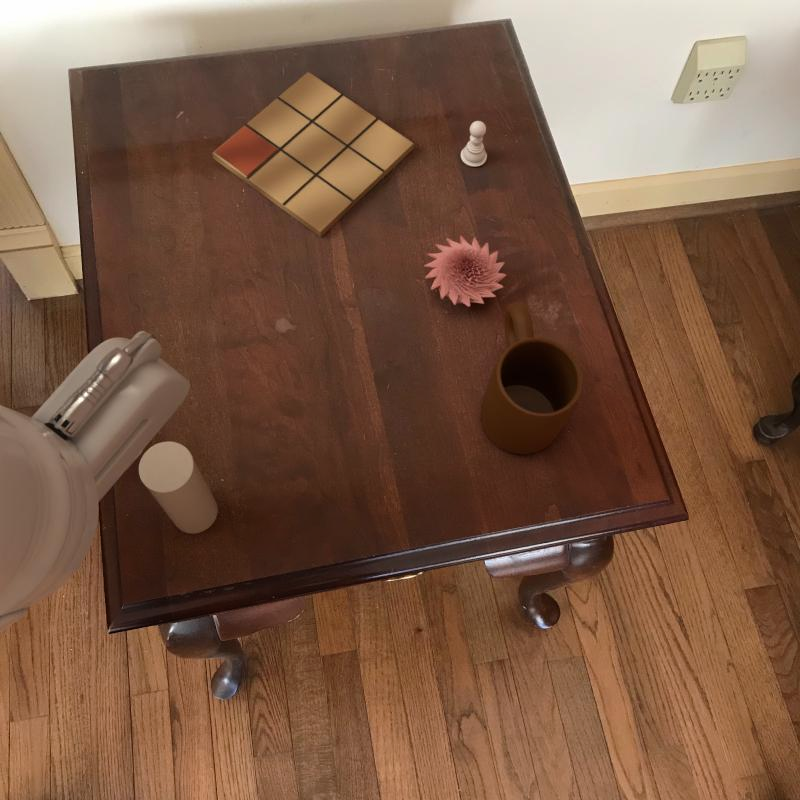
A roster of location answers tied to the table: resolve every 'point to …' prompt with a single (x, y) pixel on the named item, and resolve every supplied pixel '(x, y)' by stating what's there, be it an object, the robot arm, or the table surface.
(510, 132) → the table surface
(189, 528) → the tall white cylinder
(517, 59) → the table surface
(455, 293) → the flower
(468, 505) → the table surface
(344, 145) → the board
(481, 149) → the chess pawn
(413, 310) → the table surface
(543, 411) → the mug
